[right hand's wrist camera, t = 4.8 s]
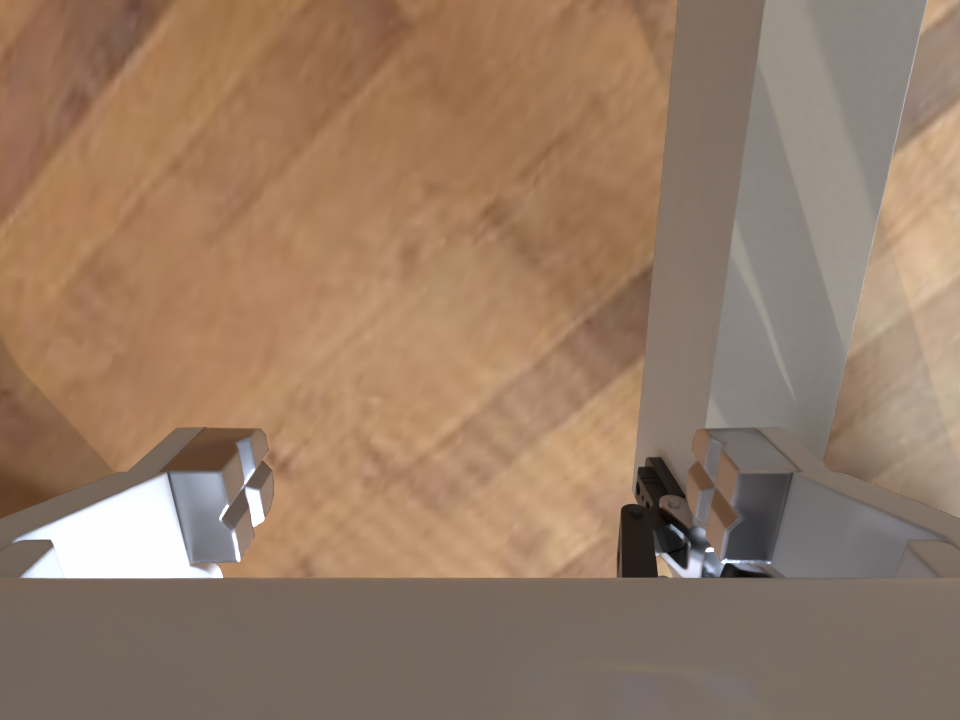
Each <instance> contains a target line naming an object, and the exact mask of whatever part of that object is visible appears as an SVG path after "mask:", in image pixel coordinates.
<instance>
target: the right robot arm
mask: <svg viewBox="0 0 960 720" xmlns="http://www.w3.org/2000/svg"><path fill="white" fill-rule="evenodd" d="M268 450H269V448H268V443H267V438H266V434H265V433H264V432H263V430H262V429H258V428H207V427H188V428H176V429H175V430H174V431H173V432H172V433H170V434H169V435H168V436H167V437H166V438H165V439H164V440H163V441H161V442H160V443H159V444H158V445H157V446H156V447H155V448H154V449H152V450H151V451H150V452H149V453H148V454H147V455H146V456H145V457H143V458H142V459H141V460H140V461H139V462H138V463H137V464H136V465H135V466H133V467H132V468H131V469H130V470H129V471H128V472H117V473H115V474H112V475H110V476H107V477H105V478H102V479H100V480H97V481H95V482H92V483H89V484H87V485H84V486H82V487H79V488H77V489H74V490H72V491H69V492H67V493H64V494H61V495H59V496H56V497H54V498H51V499H49V500H46V501H44V502H41V503H39V504H36V505H33V506H31V507H28V508H26V509H23V510H21V511H18V512H16V513H13V514H11V515H8V516H5V517H3V518H0V720H960V519H959V518H957V517H954V516H952V515H949V514H947V513H944V512H942V511H939V510H936V509H934V508H931V507H929V506H926V505H924V504H921V503H919V502H916V501H914V500H911V499H909V498H906V497H904V496H901V495H898V494H896V493H893V492H891V491H888V490H886V489H883V488H881V487H878V486H876V485H873V484H871V483H868V482H865V481H863V480H860V479H858V478H855V477H853V476H850V475H848V474H845V473H843V472H832V471H831V470H830V469H829V468H828V467H827V466H826V465H824V464H823V463H822V462H821V461H820V460H819V459H818V458H817V457H815V456H814V455H813V454H812V453H811V452H810V451H809V450H808V449H807V448H805V447H804V446H803V445H802V444H801V443H800V442H799V441H798V440H796V439H795V438H794V437H793V436H792V435H791V434H790V433H789V432H788V431H786V430H785V429H783V428H780V427H763V428H755V427H750V428H708V429H699V430H697V431H696V433H695V435H694V437H693V442H692V448H691V450H692V452H693V454H694V455H695V457H696V458H697V461H696V462H695V463H694V464H693V465H692V467H691V468H690V469H689V470H688V473H687V480H686V493H687V501H688V505H689V508H690V511H691V513H692V514H693V516H694V518H695V520H697V521H698V522H700V523H702V524H703V525H705V526H706V527H707V529H706V534H705V537H706V538H707V540H708V542H709V543H710V545H711V547H712V548H713V550H714V552H715V553H716V555H717V557H718V558H719V560H720V562H731V563H768V564H771V565H770V566H771V567H773V568H774V569H776V570H777V571H778V572H780V573H781V574H782V575H784V576H785V577H786V578H223V576H222V573H221V570H220V568H219V567H218V566H217V565H216V564H215V563H228V562H240V560H241V559H242V557H243V555H244V554H245V552H246V550H247V549H248V547H249V545H250V543H251V542H252V540H253V538H254V537H255V534H254V528H253V527H254V526H255V525H257V524H258V523H260V522H262V521H263V520H265V518H266V516H267V514H268V512H269V511H270V508H271V504H272V500H273V496H274V479H273V472H272V470H271V469H270V468H269V467H268V465H267V464H266V463H265V462H264V461H263V458H264V457H265V455H266V454H267V452H268Z"/></svg>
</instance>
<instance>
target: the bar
mask: <svg viewBox="0 0 960 720" xmlns="http://www.w3.org/2000/svg"><path fill="white" fill-rule="evenodd" d="M927 1H928V0H678V7H677V17H676V28H675V39H674V49H673V60H672V71H671V81H670V92H669V102H668V113H667V124H666V134H665V145H664V155H663V166H662V177H661V187H660V198H659V209H658V219H657V230H656V240H655V251H654V262H653V272H652V283H651V294H650V304H649V315H648V325H647V336H646V347H645V357H644V368H643V379H642V389H641V400H640V410H639V421H638V432H637V442H636V453H635V463H634V474H633V485H632V492H633V494H634V496H635V491H636V481H637V471H638V467H645V460H646V458H647V457H661V458H662V459H663V461H664V463H665V464H666V466H667V467H668V469H669V470H670V472H671V474H672V475H673V477H674V478H675V480H676V481H677V483H678V485H679V486H680V488H681V489H682V491H683V492H684V494H685V500H687V493H686V480H687V473H688V470H689V469H690V468H691V467H692V465H693V464H694V463H695V462H696V461H697V458H696V457H695V455H694V454H693V452H692V450H691V448H692V442H693V437H694V435H695V433H696V431H697V430H699V429H708V428H750V427H755V428H763V427H780V428H783V429H785V430H786V431H788V432H789V433H790V434H791V435H792V436H793V437H794V438H795V439H796V440H798V441H799V442H800V443H801V444H802V445H803V446H804V447H805V448H807V449H808V450H809V451H810V452H811V453H812V454H813V455H814V456H815V457H817V458H818V459H819V460H820V461H821V462H822V463H823V461H824V457H825V452H826V448H827V444H828V439H829V435H830V430H831V426H832V421H833V417H834V413H835V408H836V404H837V399H838V395H839V390H840V386H841V382H842V377H843V373H844V368H845V364H846V359H847V355H848V351H849V346H850V342H851V337H852V333H853V328H854V324H855V320H856V315H857V311H858V306H859V302H860V297H861V293H862V289H863V284H864V280H865V275H866V271H867V266H868V262H869V258H870V253H871V249H872V244H873V240H874V235H875V231H876V227H877V222H878V218H879V213H880V209H881V204H882V200H883V195H884V191H885V187H886V182H887V178H888V173H889V169H890V164H891V160H892V156H893V151H894V147H895V142H896V138H897V133H898V129H899V125H900V120H901V116H902V111H903V107H904V102H905V98H906V94H907V89H908V85H909V80H910V76H911V71H912V67H913V63H914V58H915V54H916V49H917V45H918V40H919V36H920V32H921V27H922V23H923V18H924V14H925V9H926V5H927ZM685 542H686V543H687V544H688V545H689V546H690V547H691V545H690V542H689V540H688V538H687V537H686V536H685ZM667 565H668V564H667ZM668 567H669V569H670V571H671V573H672V576H673V578H681V576H680V575H679V574H677V573H676V572H675V571H674V570H673V569H672V568H671V567H670V566H669V565H668Z"/></svg>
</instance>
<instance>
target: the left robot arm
mask: <svg viewBox="0 0 960 720" xmlns="http://www.w3.org/2000/svg"><path fill="white" fill-rule="evenodd" d="M635 498H636V500H637V503H638V505H637V504H628V505H625V506H623V507H622V509H621V516H620V527H619V538H618V550H617V578H668V577H667V576H659V577H658V572H657V562H656V556H657V555H659V556H660V557H661V558H662V559H663V560H664V561H665V562H666V563H667V564H668V565H669V566H670V567H671V568H672V569H673V570H674V571H675V572H676V573H677V574H679V575H680V576H681V578H786V577H785V576H784V575H782V574H781V573H780V572H778V571H777V570H776V569H774V568H773V567H771V566H770V565H771V564H768V563H731V562H720V560H719V558H718V557H717V555H716V553H715V552H714V550H713V548H712V547H711V545H710V543H709V542H708V540H707V538H706V537H705V534H706V529H707V527H706V526H705V525H703V524H702V523H700V522H698V521H697V520H695V518H694V516H693V514H692V513H691V511H690V508H689V505H688V501H687V500H685V494H684V492H683V491H682V489H681V488H680V486H679V485H678V483H677V481H676V480H675V478H674V477H673V475H672V474H671V472H670V470H669V469H668V467H667V466H666V464H665V463H664V461H663V459H662V458H661V457H647V458H646V460H645V467H638V471H637V481H636V491H635ZM685 536H686V537H687V538H688V540H689V542H690V545H691V547H690V546H689V545H688V544H687V543H686V542H685Z"/></svg>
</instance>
